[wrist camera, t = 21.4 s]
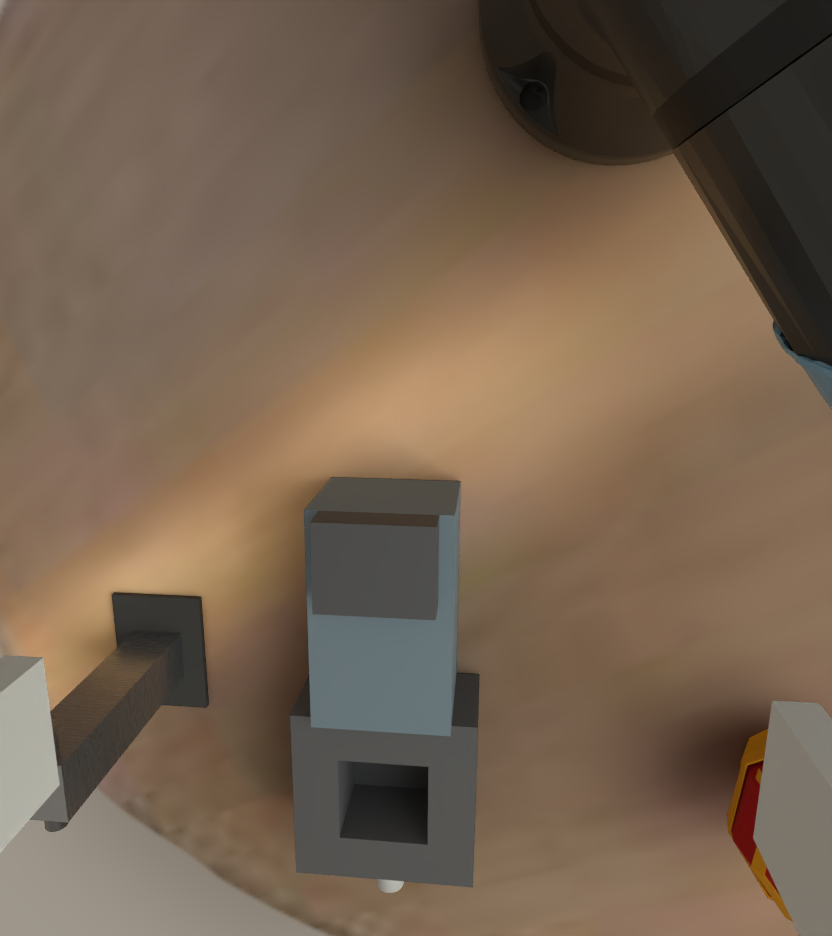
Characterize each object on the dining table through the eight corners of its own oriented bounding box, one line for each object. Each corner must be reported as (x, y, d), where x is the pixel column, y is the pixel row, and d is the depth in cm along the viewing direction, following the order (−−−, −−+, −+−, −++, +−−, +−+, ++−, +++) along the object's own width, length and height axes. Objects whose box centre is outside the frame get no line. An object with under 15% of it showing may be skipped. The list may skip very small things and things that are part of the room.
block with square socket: (308, 476, 46) (265, 520, 37) (485, 481, 44) (483, 529, 36) (319, 842, 52) (284, 953, 43) (474, 854, 51) (470, 971, 42)
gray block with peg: (140, 691, 50) (10, 841, 37) (133, 611, 49) (-6, 735, 35) (185, 694, 50) (71, 846, 36) (179, 613, 48) (57, 740, 35)
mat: (114, 592, 49) (111, 594, 48) (201, 596, 48) (198, 599, 48) (125, 699, 51) (122, 702, 50) (208, 704, 50) (206, 707, 50)
